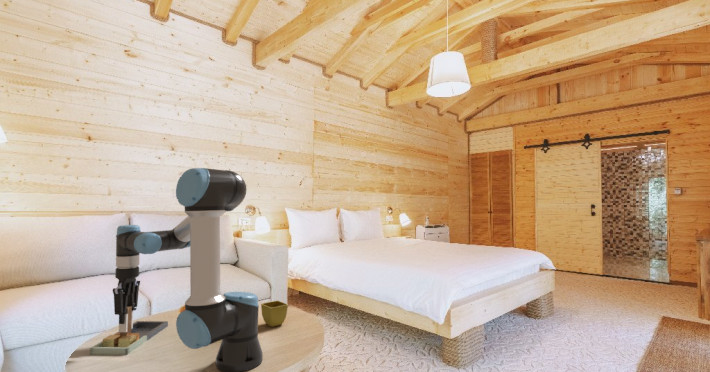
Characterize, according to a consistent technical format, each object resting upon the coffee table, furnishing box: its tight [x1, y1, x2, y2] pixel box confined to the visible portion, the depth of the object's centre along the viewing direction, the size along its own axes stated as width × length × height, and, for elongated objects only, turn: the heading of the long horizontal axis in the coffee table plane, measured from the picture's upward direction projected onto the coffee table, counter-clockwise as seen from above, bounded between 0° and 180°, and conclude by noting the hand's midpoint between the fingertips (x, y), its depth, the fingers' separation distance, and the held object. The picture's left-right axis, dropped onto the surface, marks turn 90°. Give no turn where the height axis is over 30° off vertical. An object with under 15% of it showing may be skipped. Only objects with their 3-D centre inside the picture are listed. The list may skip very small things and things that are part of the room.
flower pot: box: [260, 300, 289, 328], centre depth 163 cm, size 9×9×9 cm
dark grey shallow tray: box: [116, 320, 169, 342], centre depth 148 cm, size 16×13×3 cm
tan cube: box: [102, 334, 121, 347], centre depth 134 cm, size 4×4×4 cm
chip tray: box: [89, 336, 148, 355], centre depth 134 cm, size 12×13×3 cm
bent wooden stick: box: [113, 306, 139, 341], centre depth 138 cm, size 3×9×13 cm, turn 90°
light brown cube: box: [118, 335, 136, 347], centre depth 134 cm, size 4×4×4 cm
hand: (125, 330), depth 138 cm, fingers closed on bent wooden stick, 3 cm apart
